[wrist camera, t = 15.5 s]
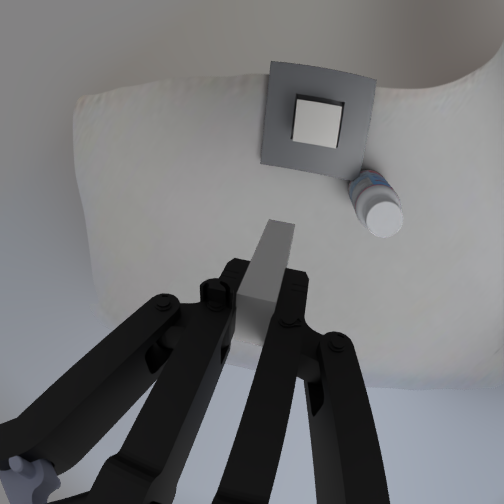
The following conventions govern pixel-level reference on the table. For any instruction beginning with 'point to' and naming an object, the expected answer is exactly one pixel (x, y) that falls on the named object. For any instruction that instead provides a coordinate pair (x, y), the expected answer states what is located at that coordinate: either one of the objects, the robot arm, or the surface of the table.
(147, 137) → the table surface
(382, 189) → the pill bottle
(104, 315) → the table surface
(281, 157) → the socket plate
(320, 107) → the plug
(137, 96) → the table surface
